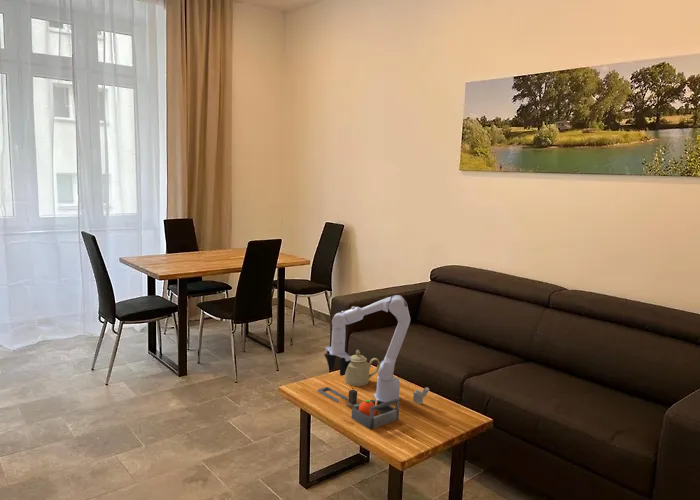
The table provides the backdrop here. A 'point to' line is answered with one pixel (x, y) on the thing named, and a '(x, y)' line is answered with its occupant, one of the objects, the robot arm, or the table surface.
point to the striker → (354, 399)
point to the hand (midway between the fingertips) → (336, 372)
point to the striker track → (332, 392)
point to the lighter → (420, 395)
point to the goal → (379, 420)
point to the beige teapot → (359, 370)
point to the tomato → (366, 407)
